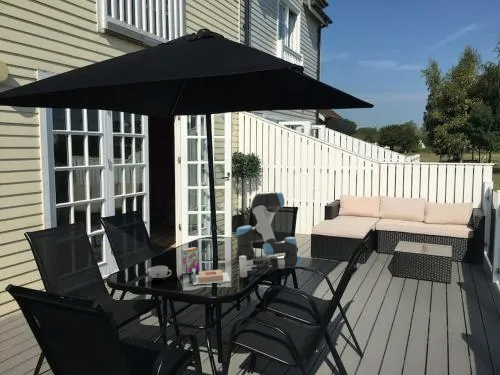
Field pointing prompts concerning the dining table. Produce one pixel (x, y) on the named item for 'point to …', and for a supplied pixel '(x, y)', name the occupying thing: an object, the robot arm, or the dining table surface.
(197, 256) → the candy bar box
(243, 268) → the peg
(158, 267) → the teacup
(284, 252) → the robot arm
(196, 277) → the charging dock
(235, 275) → the dining table surface
